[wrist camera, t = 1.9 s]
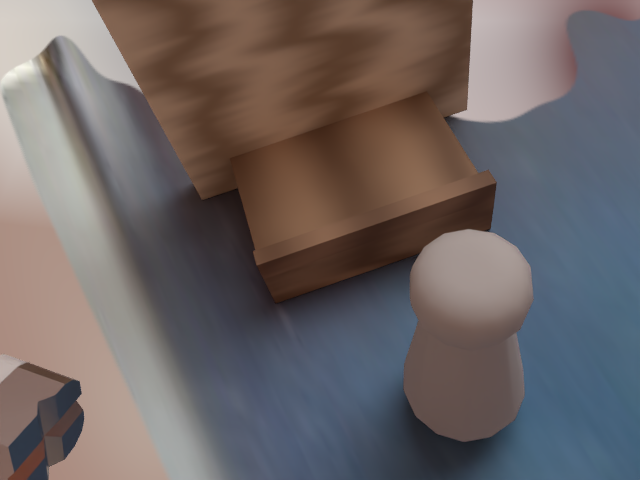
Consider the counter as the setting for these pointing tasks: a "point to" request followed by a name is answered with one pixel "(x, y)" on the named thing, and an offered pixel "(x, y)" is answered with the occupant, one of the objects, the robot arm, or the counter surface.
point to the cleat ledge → (358, 195)
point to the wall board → (283, 67)
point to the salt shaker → (467, 334)
